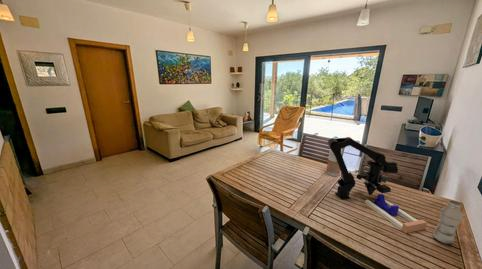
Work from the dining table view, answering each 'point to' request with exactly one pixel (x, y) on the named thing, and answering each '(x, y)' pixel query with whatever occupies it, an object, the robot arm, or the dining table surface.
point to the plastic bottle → (448, 222)
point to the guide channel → (405, 227)
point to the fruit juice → (333, 164)
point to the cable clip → (382, 204)
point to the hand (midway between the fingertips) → (370, 194)
